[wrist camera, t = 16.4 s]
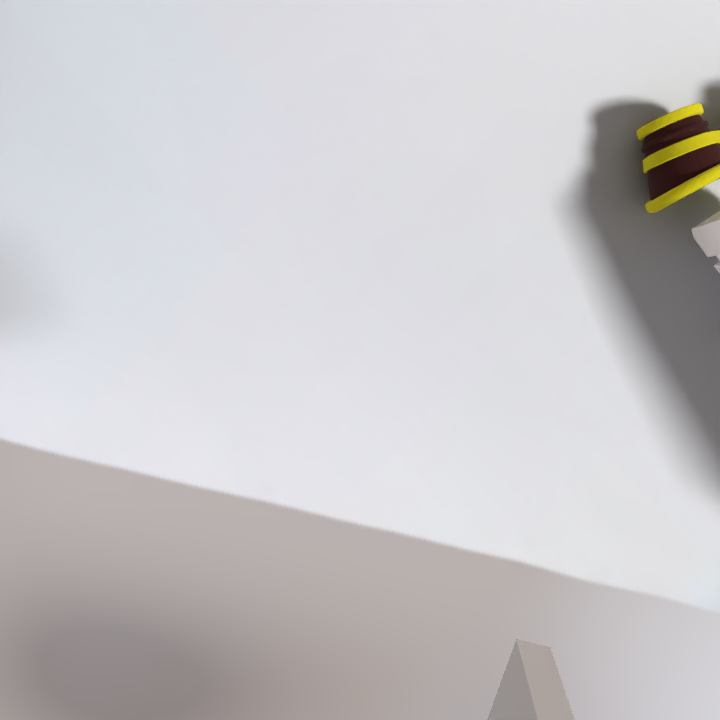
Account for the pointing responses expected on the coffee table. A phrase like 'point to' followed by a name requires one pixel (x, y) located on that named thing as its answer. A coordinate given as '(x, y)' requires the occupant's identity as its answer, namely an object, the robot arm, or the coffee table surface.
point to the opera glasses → (678, 155)
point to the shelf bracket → (709, 236)
